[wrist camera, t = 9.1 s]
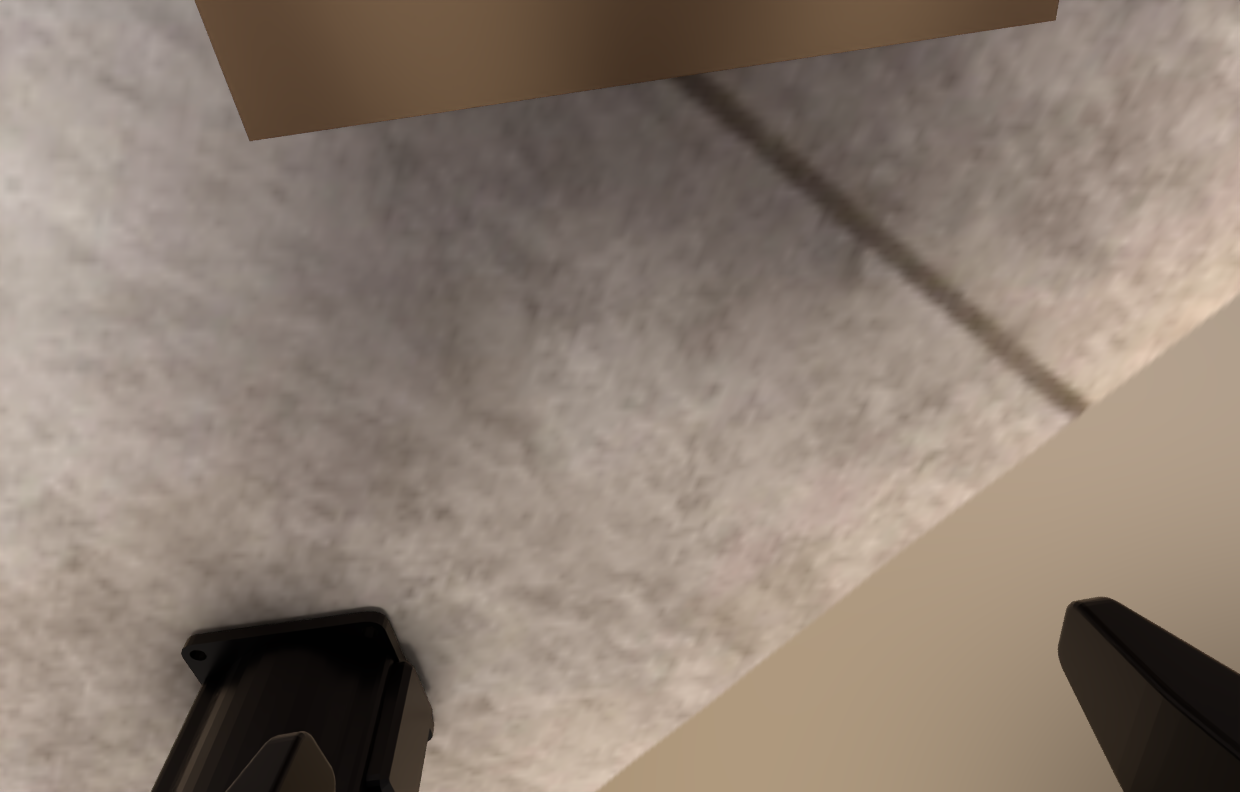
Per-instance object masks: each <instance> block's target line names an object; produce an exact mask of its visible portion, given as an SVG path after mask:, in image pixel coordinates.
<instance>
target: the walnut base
mask: <svg viewBox="0 0 1240 792" xmlns="http://www.w3.org/2000/svg"><path fill="white" fill-rule="evenodd" d="M195 3H196V5H197V8H198V10H199V13H200V15H201V18H202V20H203V23H204V25H205V28H206V31H207V33H208V36H209V38H210V41H211V43H212V46H213V48H214V51H215V54H216V56H217V59H218V61H219V64H220V66H221V69H222V71H223V74H224V77H225V79H226V82H227V84H228V87H229V89H230V92H231V94H232V97H233V100H234V102H235V105H236V107H237V110H238V112H239V115H240V117H241V120H242V123H243V125H244V128H245V130H246V133H247V135H248V138H249V140H250V141H254V140H261V139H267V138H274V137H281V136H287V135H294V134H301V133H307V132H314V131H321V130H327V129H334V128H341V127H347V126H354V125H361V124H367V123H374V122H381V121H387V120H394V119H401V118H407V117H414V116H421V115H427V114H434V113H441V112H447V111H454V110H461V109H467V108H474V107H481V106H487V105H494V104H501V103H507V102H514V101H521V100H527V99H534V98H541V97H547V96H554V95H561V94H567V93H574V92H581V91H587V90H594V89H601V88H607V87H614V86H621V85H627V84H634V83H641V82H647V81H654V80H661V79H667V78H674V77H681V76H687V75H694V74H701V73H708V72H714V71H721V70H728V69H734V68H741V67H748V66H754V65H761V64H768V63H774V62H781V61H788V60H794V59H801V58H808V57H814V56H821V55H828V54H834V53H841V52H848V51H854V50H861V49H868V48H874V47H881V46H888V45H894V44H901V43H908V42H914V41H921V40H928V39H934V38H941V37H948V36H954V35H961V34H968V33H974V32H981V31H988V30H994V29H1001V28H1008V27H1014V26H1021V25H1028V24H1034V23H1041V22H1048V21H1054V20H1056V15H1057V9H1058V3H1059V0H195Z"/></svg>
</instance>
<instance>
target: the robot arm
mask: <svg viewBox="0 0 1240 792" xmlns="http://www.w3.org/2000/svg"><path fill="white" fill-rule="evenodd" d="M181 654H182V657H183V659H184V660H185V661H186V663H187V664H188V666H189V667H190V669H191V670H192V671H193V673H194V674H195V676H196V677H197V679H198V680H199V682H200V683H201V684H202V687H201V689H200V691H199V693H198V695H197V697H196V699H195V701H194V703H193V705H192V707H191V709H190V711H189V714H188V716H187V718H186V720H185V722H184V724H183V726H182V728H181V730H180V732H179V734H178V736H177V738H176V741H175V743H174V745H173V747H172V749H171V751H170V753H169V755H168V757H167V759H166V761H165V763H164V766H163V768H162V770H161V772H160V774H159V776H158V778H157V780H156V782H155V784H154V786H153V788H152V790H151V792H419V787H420V781H421V775H422V769H423V764H424V758H425V752H426V746H427V742H428V741H429V740H431V738H432V736H433V731H434V722H433V720H432V707H431V705H430V702H429V700H428V698H427V696H426V693H425V691H424V689H423V687H422V684H421V682H420V680H419V677H418V675H417V673H416V671H415V668H414V666H413V665H411V664H410V663H409V662H408V661H406V659H405V657H404V655H403V652H402V650H401V648H400V646H399V643H398V641H397V639H396V637H395V634H394V632H393V630H392V628H391V625H390V623H389V621H388V619H387V618H386V617H385V616H384V615H382V614H381V613H378V612H360V613H353V614H346V615H338V616H331V617H324V618H316V619H309V620H301V621H294V622H287V623H279V624H272V625H264V626H257V627H250V628H242V629H235V630H227V631H220V632H213V633H205V634H198V635H194V636H191V637H190V638H189V639H188V640H187V642H186V643H185V645H184V647H183V649H182V652H181ZM1058 656H1059V660H1060V663H1061V666H1062V669H1063V671H1064V672H1065V675H1066V677H1067V679H1068V681H1069V683H1070V685H1071V687H1072V689H1073V691H1074V693H1075V695H1076V697H1077V699H1078V701H1079V703H1080V705H1081V707H1082V709H1083V711H1084V713H1085V715H1086V717H1087V720H1088V721H1089V724H1090V726H1091V728H1092V729H1093V732H1094V734H1095V736H1096V738H1097V740H1098V742H1099V744H1100V746H1101V748H1102V750H1103V752H1104V754H1105V756H1106V758H1107V760H1108V762H1109V764H1110V766H1111V768H1112V770H1113V772H1114V774H1115V776H1116V778H1117V780H1118V782H1119V784H1120V786H1121V788H1122V789H1123V792H1240V674H1239V673H1237V672H1236V671H1234V670H1232V669H1231V668H1229V667H1227V666H1225V665H1224V664H1222V663H1220V662H1219V661H1217V660H1215V659H1214V658H1212V657H1210V656H1209V655H1207V654H1205V653H1204V652H1202V651H1200V650H1198V649H1197V648H1195V647H1193V646H1192V645H1190V644H1188V643H1187V642H1185V641H1183V640H1182V639H1180V638H1178V637H1176V636H1175V635H1173V634H1171V633H1169V632H1168V631H1166V630H1165V629H1163V628H1161V627H1160V626H1158V625H1156V624H1155V623H1153V622H1151V621H1149V620H1147V619H1146V618H1144V617H1142V616H1141V615H1139V614H1137V613H1136V612H1134V611H1132V610H1131V609H1129V608H1127V607H1126V606H1124V605H1122V604H1121V603H1119V602H1117V601H1115V600H1113V599H1111V598H1108V597H1095V598H1089V599H1083V600H1078V601H1073V602H1071V604H1069V605H1068V607H1067V609H1066V613H1065V617H1064V622H1063V626H1062V631H1061V635H1060V640H1059V644H1058Z"/></svg>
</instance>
